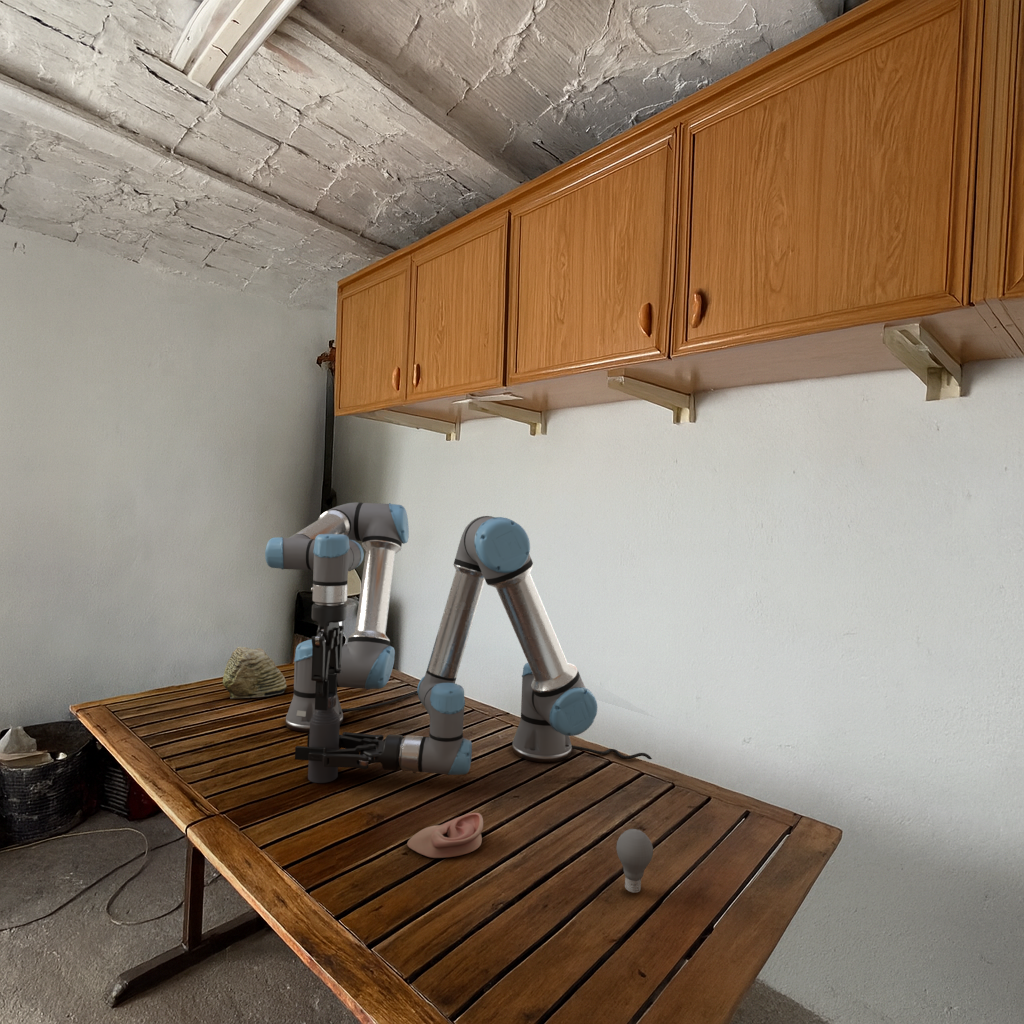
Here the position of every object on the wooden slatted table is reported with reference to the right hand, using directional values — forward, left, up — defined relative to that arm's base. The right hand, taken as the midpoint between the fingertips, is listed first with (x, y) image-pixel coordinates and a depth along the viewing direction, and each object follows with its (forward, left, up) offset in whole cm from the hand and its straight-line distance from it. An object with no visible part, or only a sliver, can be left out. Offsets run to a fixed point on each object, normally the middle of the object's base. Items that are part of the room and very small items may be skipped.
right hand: (302, 746), depth 143 cm
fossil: (+10, -63, -7) cm, 64 cm away
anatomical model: (-23, +37, -7) cm, 44 cm away
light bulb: (-49, +60, -7) cm, 78 cm away
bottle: (-5, +2, -7) cm, 8 cm away
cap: (-5, +2, +12) cm, 13 cm away
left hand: (-5, +2, +10) cm, 11 cm away
